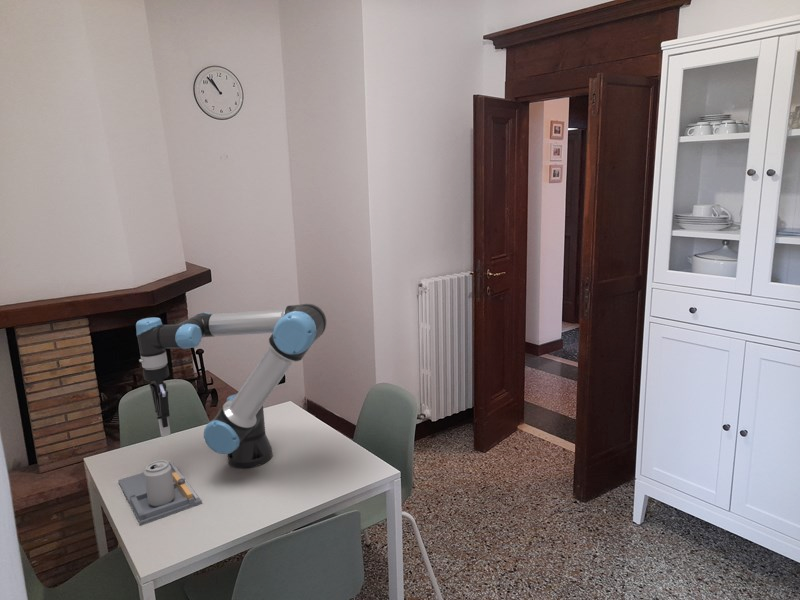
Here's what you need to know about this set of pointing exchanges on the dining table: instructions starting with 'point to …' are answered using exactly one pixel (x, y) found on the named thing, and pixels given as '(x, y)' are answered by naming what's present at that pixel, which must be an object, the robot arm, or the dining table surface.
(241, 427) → the robot arm
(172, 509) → the housing
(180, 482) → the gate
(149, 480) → the can
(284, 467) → the dining table surface
